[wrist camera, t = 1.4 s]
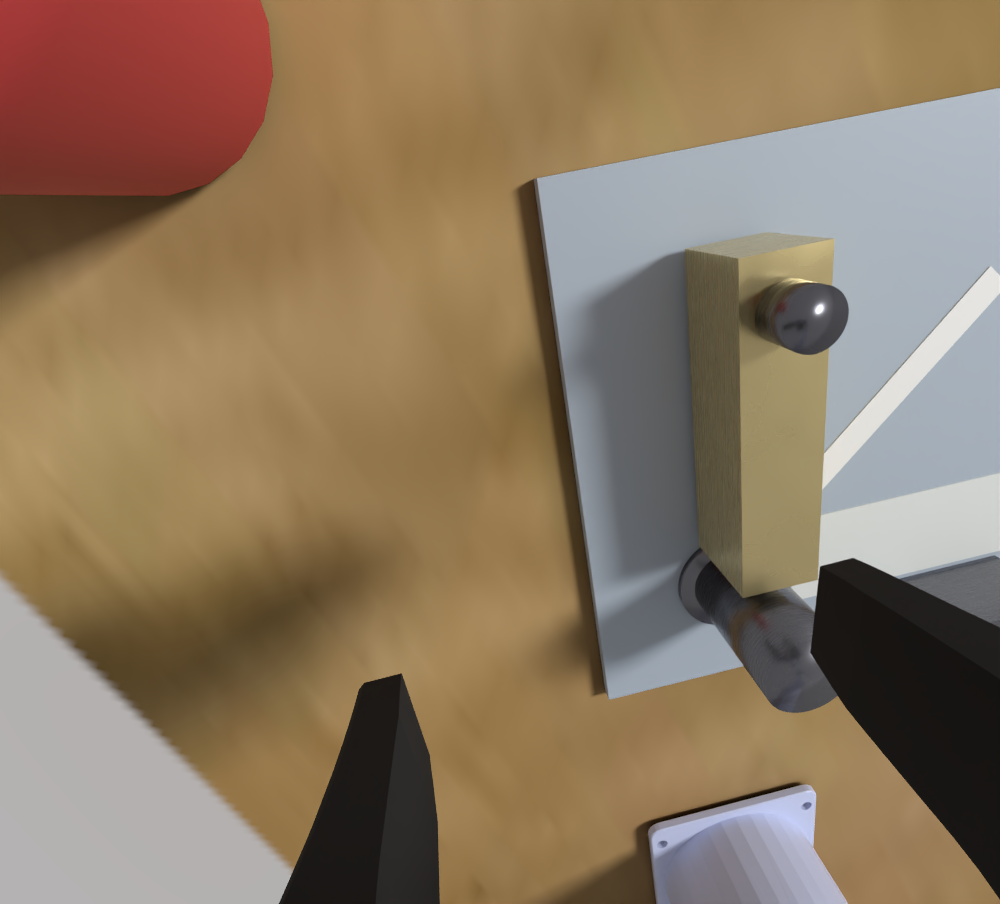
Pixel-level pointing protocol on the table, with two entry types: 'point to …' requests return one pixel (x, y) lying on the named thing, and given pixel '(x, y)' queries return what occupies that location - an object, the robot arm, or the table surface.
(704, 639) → the door panel
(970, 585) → the block
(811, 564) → the swing bar
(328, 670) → the table surface
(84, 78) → the beer can
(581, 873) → the table surface
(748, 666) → the door knob
